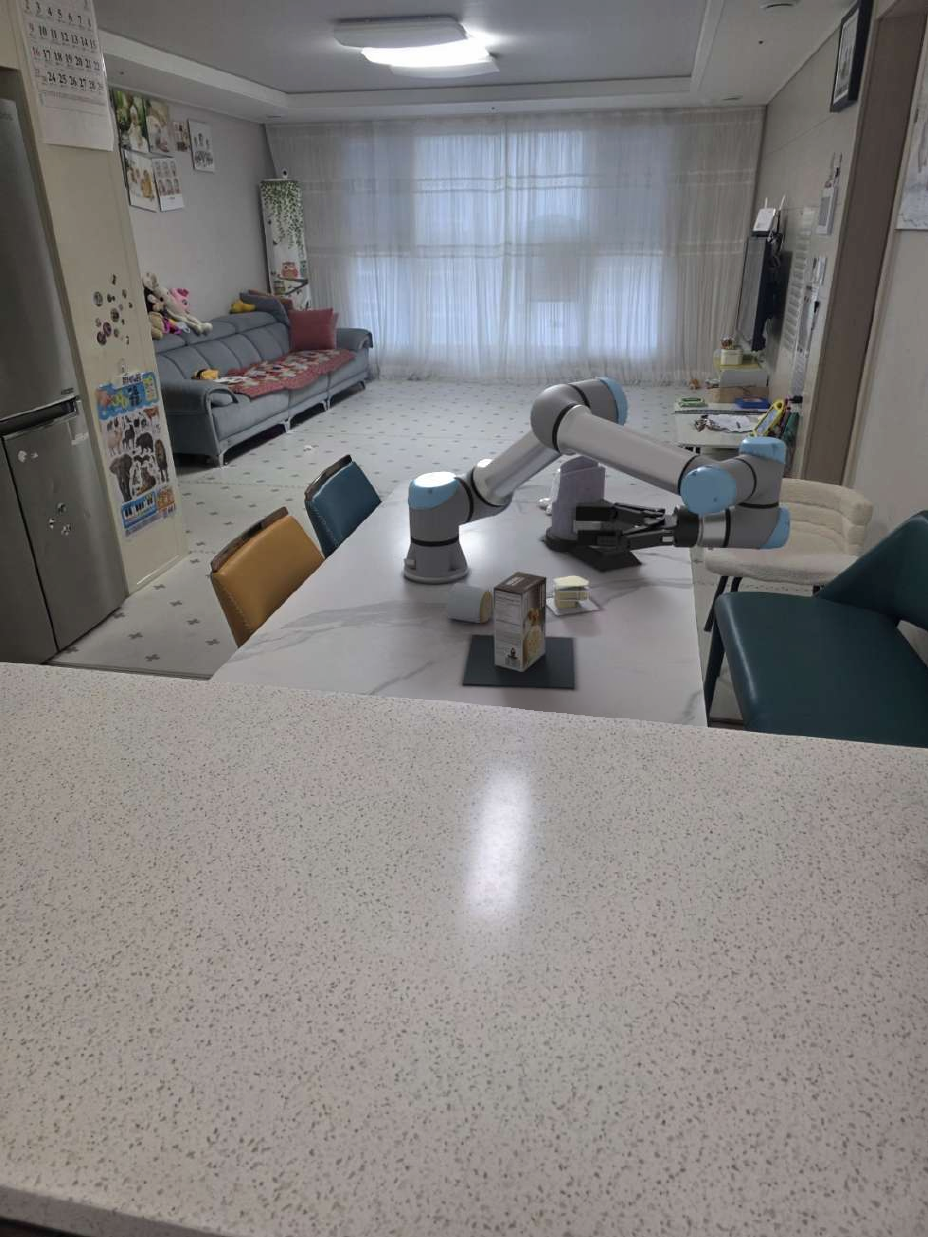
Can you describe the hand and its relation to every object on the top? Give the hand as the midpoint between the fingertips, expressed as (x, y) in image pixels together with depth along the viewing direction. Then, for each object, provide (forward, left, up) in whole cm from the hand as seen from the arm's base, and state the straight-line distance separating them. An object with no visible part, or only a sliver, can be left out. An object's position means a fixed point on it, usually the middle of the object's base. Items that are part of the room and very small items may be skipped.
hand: (576, 524), depth 149 cm
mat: (+4, -10, -26) cm, 28 cm away
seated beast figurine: (-92, -3, -26) cm, 96 cm away
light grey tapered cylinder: (-15, -21, -26) cm, 37 cm away
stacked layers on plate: (-23, 0, -26) cm, 35 cm away
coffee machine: (-58, +5, -26) cm, 64 cm away
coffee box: (+4, -10, -26) cm, 28 cm away
